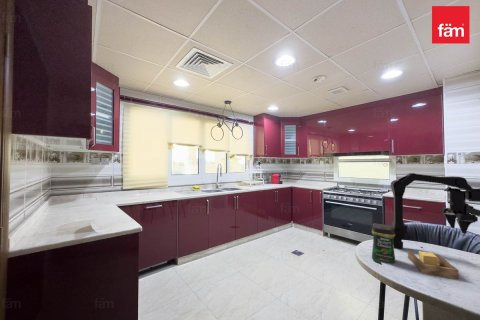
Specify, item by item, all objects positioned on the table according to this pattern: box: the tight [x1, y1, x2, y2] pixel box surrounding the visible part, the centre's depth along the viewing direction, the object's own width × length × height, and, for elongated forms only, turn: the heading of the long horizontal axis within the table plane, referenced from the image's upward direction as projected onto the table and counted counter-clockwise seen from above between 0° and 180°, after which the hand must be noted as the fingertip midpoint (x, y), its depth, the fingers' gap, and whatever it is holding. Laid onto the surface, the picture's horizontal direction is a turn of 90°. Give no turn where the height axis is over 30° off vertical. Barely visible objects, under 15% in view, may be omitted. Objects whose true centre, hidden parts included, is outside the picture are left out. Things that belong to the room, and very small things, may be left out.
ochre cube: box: [418, 250, 438, 266], centre depth 95 cm, size 5×5×5 cm
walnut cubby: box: [407, 250, 460, 280], centre depth 93 cm, size 12×16×5 cm
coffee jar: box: [371, 222, 396, 265], centre depth 101 cm, size 10×8×19 cm
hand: (458, 230), depth 105 cm, fingers open, 9 cm apart
